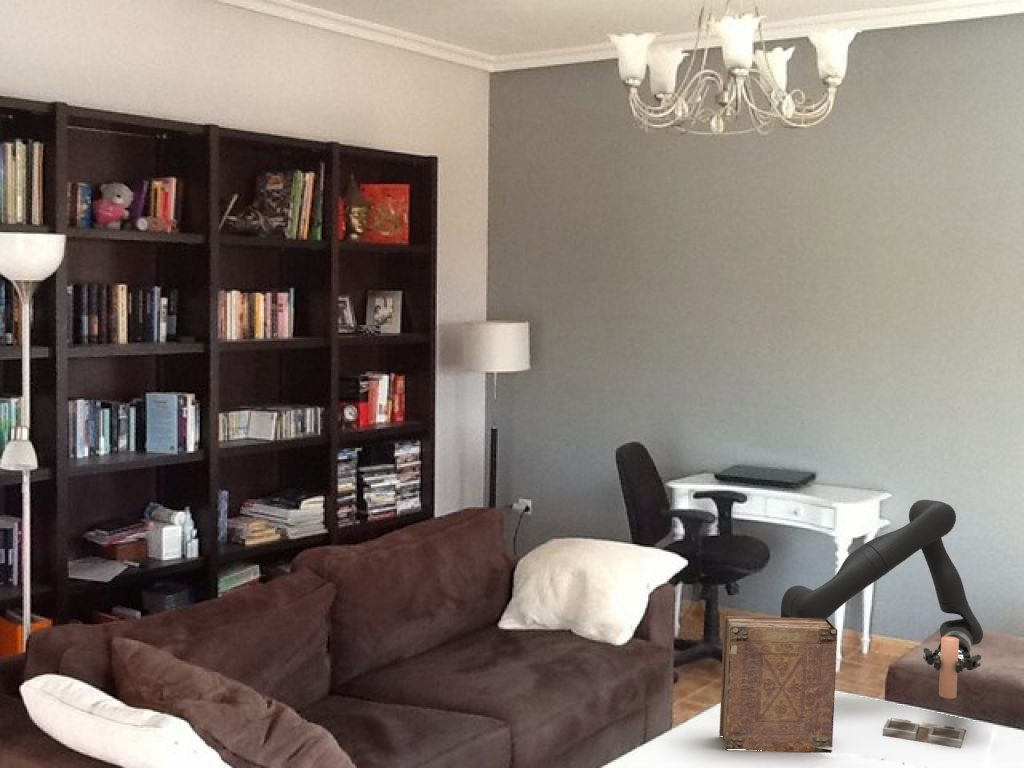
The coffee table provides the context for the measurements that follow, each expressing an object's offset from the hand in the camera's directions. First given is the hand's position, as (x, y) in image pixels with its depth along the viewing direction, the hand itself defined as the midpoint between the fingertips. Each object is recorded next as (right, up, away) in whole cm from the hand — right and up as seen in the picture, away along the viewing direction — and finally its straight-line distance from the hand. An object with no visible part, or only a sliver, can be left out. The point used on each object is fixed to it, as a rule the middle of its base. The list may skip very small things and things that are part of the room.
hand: (947, 667), depth 303 cm
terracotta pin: (+1, -8, +3) cm, 8 cm away
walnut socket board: (-3, -19, +8) cm, 21 cm away
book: (-41, -19, +2) cm, 45 cm away
